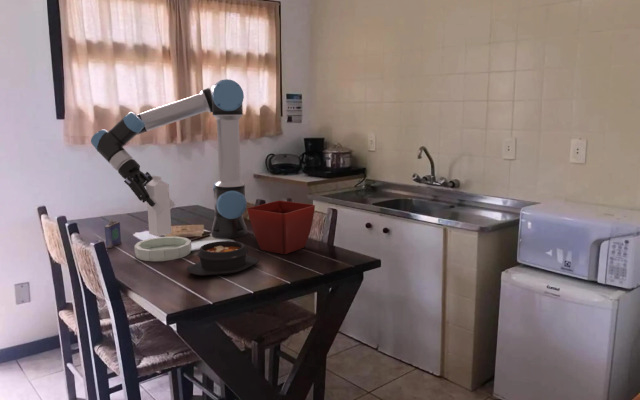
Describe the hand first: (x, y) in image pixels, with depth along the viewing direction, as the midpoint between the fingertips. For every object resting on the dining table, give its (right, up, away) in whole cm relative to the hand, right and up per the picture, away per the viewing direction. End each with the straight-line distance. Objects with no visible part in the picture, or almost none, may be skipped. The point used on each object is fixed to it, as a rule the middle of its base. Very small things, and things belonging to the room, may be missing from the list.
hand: (167, 209), depth 196 cm
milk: (-3, -10, +3) cm, 10 cm away
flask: (-26, -15, +16) cm, 35 cm away
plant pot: (+42, -16, +9) cm, 46 cm away
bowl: (-2, -17, +4) cm, 18 cm away
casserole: (+24, -21, -16) cm, 35 cm away
